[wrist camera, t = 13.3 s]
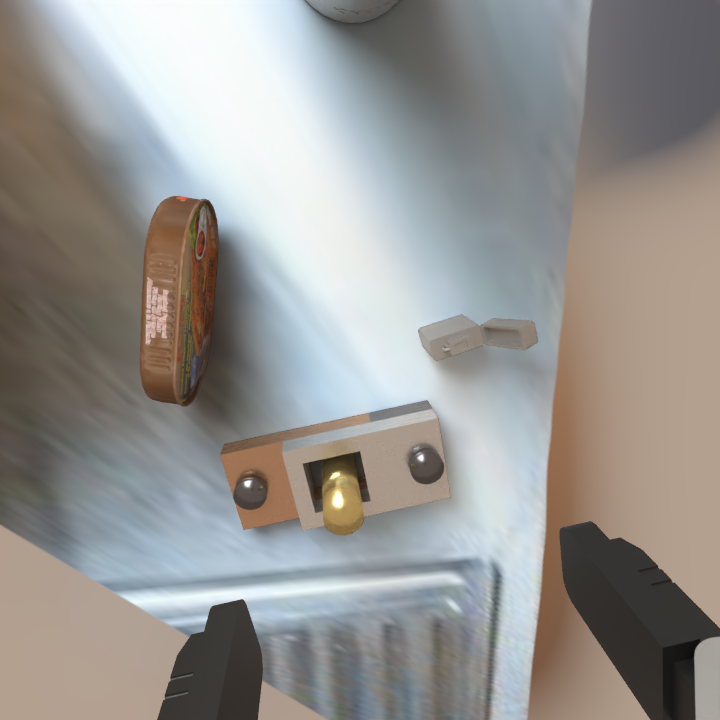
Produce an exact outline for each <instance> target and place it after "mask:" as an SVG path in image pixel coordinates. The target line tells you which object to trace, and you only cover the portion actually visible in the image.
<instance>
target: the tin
mask: <svg viewBox="0 0 720 720" xmlns="http://www.w3.org/2000/svg"><path fill="white" fill-rule="evenodd" d="M217 259H218V225H217V218H216V214H215V210H214V208H213V206H212V204H211V202H210V201H209V200H207V199H201V200H198V199H192V198H187V197H181V196H172V197H169V198H167V199H165V200H163V201H162V202H161V203H160V204H159V206H158V207H157V209H156V211H155V213H154V215H153V217H152V220H151V223H150V226H149V230H148V234H147V239H146V246H145V253H144V272H143V293H142V316H141V346H140V374H141V381H142V386H143V388H144V391H145V393H146V394H147V396H148V397H149V398H151V399H153V400H156V401H160V402H166V403H173V404H180V405H181V406H185V407H186V406H188V405H189V404H191V403H192V402H193V400H194V398H195V397H196V395H197V393H198V390H199V388H200V385H201V383H202V380H203V377H204V374H205V370H206V366H207V362H208V357H209V350H210V342H211V331H212V318H213V306H214V294H215V283H216V271H217Z"/></svg>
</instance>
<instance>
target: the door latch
mask: <svg viewBox="0 0 720 720" xmlns="http://www.w3.org/2000/svg"><path fill="white" fill-rule="evenodd" d="M358 451H360V453H361V458H362V463H363V467H364V472H365V477H362V478H358V483H359V489H360V495H361V501H362V507H363V513H364V517H366V516H370V515H375V514H379V513H384V512H388V511H393V510H397V509H402V508H406V507H410V506H415V505H419V504H424V503H428V502H433V501H437V500H442V499H446V498H451V497H450V490H449V484H448V478H447V471H446V465H445V458H444V452H443V446H442V439H441V433H440V427H439V420H438V417H437V415H436V414H435V412H434V411H433V409H432V407H431V406H430V404H429V403H428V401H422V402H417V403H413V404H408V405H404V406H399V407H394V408H390V409H385V410H380V411H376V412H371V413H367V414H362V415H357V416H353V417H348V418H344V419H339V420H334V421H330V422H325V423H320V424H316V425H311V426H307V427H302V428H297V429H293V430H288V431H283V432H279V433H274V434H270V435H265V436H260V437H256V438H251V439H246V440H242V441H237V442H233V443H228V444H224V446H223V449H222V451H221V454H220V456H221V459H222V462H223V466H224V469H225V472H226V475H227V479H228V482H229V485H230V488H231V491H232V495H233V498H234V501H235V504H236V507H237V511H238V514H239V517H240V520H241V523H242V527H243V530H246V529H250V528H255V527H259V526H264V525H268V524H273V523H277V522H282V521H286V520H291V519H295V518H299V519H300V522H301V526H302V530H308V529H312V528H317V527H321V526H325V524H324V521H323V497H322V487H317V488H315V486H314V482H313V478H312V474H311V470H310V466H309V462H312V461H317V460H321V459H326V458H331V457H335V456H340V455H344V454H349V453H353V452H358Z"/></svg>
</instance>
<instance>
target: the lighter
mask: <svg viewBox="0 0 720 720" xmlns="http://www.w3.org/2000/svg"><path fill="white" fill-rule="evenodd" d="M418 332H419V336H420V339H421V343H422V346H423V347H424V348H425V349H426V351H427V352H428V353H429V354H430V355H431V356H432V358H433V359H434V360H436V361H437V360H440V359H443V358H446V357H449V356H454V355H457V354H460V353H463V352H466V351H469V350H472V349H474V348H477V347H480V346H483V344H484V343H485V345H488V346H496V347H503V348H511V349H519V350H526V349H527V348H529V347H531V346H533V345H534V344H536V343H537V342H538V337H537V332H536V327H535V323H534V322H533V321H529V320H513V319H496V318H493V319H491V320H489V321H487V322H485V323H483V324H481V326H479V325H477V324H476V323H474V322H473V321H471V320H470V319H468V318H467V317H465V316H464V315H462V314H461V315H458V316H455V317H452V318H449V319H446V320H443V321H440V322H437V323H433V324H430V325H427V326H424V327H421V328H419V330H418Z"/></svg>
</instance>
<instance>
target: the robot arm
mask: <svg viewBox="0 0 720 720" xmlns="http://www.w3.org/2000/svg"><path fill="white" fill-rule="evenodd" d="M306 1H307V2H308V3H309V4H310V5H311V6H312V7H313V8H314V9H316V10H317V11H319V12H320V13H321V14H323V15H325V16H327V17H329V18H331V19H334V20H336V21H341V22H346V23H359V22H366V21H369V20H372V19H375V18H377V17H379V16H381V15H382V14H384V13H386V12H387V11H389V10H390V9H391V8H392V7H393V6H394V5H395V4H396V3H397V2H398V1H399V0H306ZM560 546H561V558H562V571H563V580H564V584H565V587H566V590H567V593H568V595H569V597H570V599H571V601H572V603H573V605H574V606H575V608H576V609H577V611H578V612H579V614H580V615H581V617H582V618H583V620H584V621H585V623H586V624H587V626H588V627H589V629H590V630H591V632H592V633H593V635H594V636H595V638H596V639H597V641H598V642H599V644H600V645H601V647H602V648H603V650H604V651H605V652H606V654H607V656H608V657H609V659H610V660H611V661H612V663H613V664H614V666H615V667H616V669H617V670H618V672H619V673H620V675H621V676H622V678H623V679H624V681H625V682H626V684H627V685H628V687H629V688H630V690H631V691H632V693H633V694H634V696H635V697H636V699H637V700H638V702H639V703H640V705H641V706H642V708H643V709H644V711H645V712H646V714H647V715H648V717H649V718H650V719H651V720H720V628H719V627H718V626H717V625H716V624H715V623H714V622H713V621H712V620H711V619H710V618H709V617H708V616H707V615H706V614H705V613H704V612H703V611H702V610H701V609H700V608H699V607H698V606H697V605H696V604H695V603H694V602H693V601H692V600H691V599H690V598H689V597H688V596H687V595H686V594H685V593H684V592H683V591H682V590H681V589H680V588H679V587H678V586H677V585H676V584H675V583H672V581H671V579H670V578H669V577H668V576H667V575H666V574H665V573H664V571H663V570H661V569H659V568H658V565H657V564H656V563H655V562H654V561H652V559H651V558H650V557H649V556H647V554H646V553H645V552H644V551H643V550H641V549H640V548H638V547H636V546H634V545H632V544H631V543H629V542H627V541H625V540H623V539H622V538H617V539H612V540H609V539H608V537H607V536H606V535H605V534H604V533H603V532H602V531H601V530H600V529H599V528H598V527H597V525H596V524H594V523H593V522H591V521H589V522H585V523H581V524H576V525H571V526H567V527H563V528H561V529H560ZM262 674H263V664H262V654H261V649H260V645H259V642H258V639H257V636H256V633H255V629H254V626H253V623H252V620H251V617H250V614H249V611H248V608H247V605H246V603H245V601H244V600H243V599H241V600H237V601H232V602H228V603H224V604H219V605H215V606H212V607H211V609H210V612H209V615H208V619H207V623H206V627H205V631H204V632H201V633H196V634H192V635H191V636H190V638H189V639H188V641H187V642H186V643H185V645H184V646H183V648H182V649H181V651H180V652H179V654H178V655H177V658H176V661H175V664H174V668H173V671H172V674H171V681H170V682H169V683H168V687H167V690H166V694H165V700H163V703H162V706H161V709H160V713H159V716H158V719H157V720H258V711H259V702H260V693H261V684H262Z"/></svg>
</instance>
